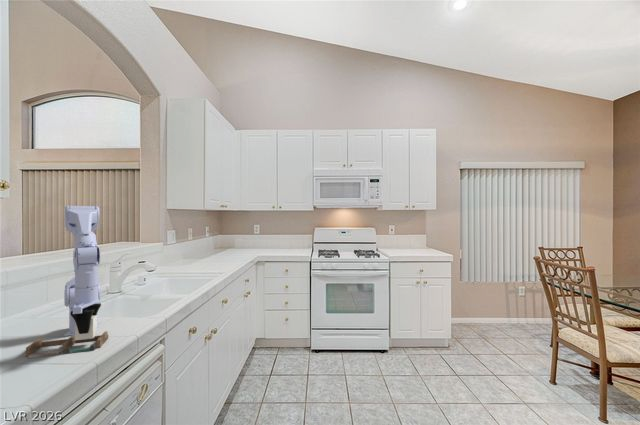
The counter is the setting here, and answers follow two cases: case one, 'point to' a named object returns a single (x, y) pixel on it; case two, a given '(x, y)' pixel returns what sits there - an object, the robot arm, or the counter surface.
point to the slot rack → (64, 345)
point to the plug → (91, 332)
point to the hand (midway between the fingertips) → (86, 330)
